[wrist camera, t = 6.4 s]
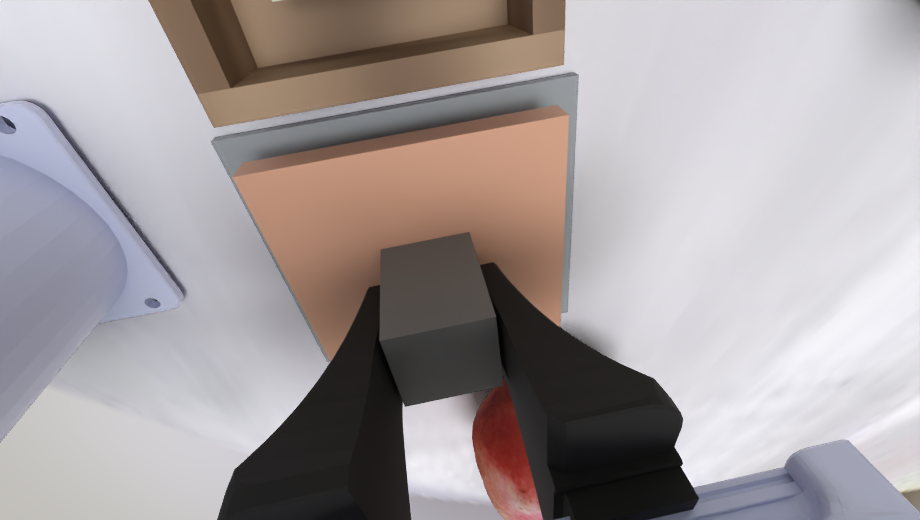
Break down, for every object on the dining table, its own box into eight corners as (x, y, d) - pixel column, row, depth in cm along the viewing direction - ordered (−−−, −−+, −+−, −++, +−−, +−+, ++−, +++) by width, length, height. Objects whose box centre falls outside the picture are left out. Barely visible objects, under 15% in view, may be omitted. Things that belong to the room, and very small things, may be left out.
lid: (343, 363, 18) (331, 479, 14) (242, 162, 12) (169, 265, 8) (552, 319, 18) (599, 420, 14) (557, 104, 12) (641, 173, 8)
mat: (328, 355, 19) (327, 361, 19) (215, 137, 13) (211, 141, 12) (564, 306, 20) (567, 312, 20) (574, 72, 13) (578, 75, 13)
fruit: (631, 316, 21) (779, 523, 13) (590, 417, 27) (677, 606, 19) (464, 330, 20) (517, 570, 12) (457, 433, 25) (490, 644, 17)
